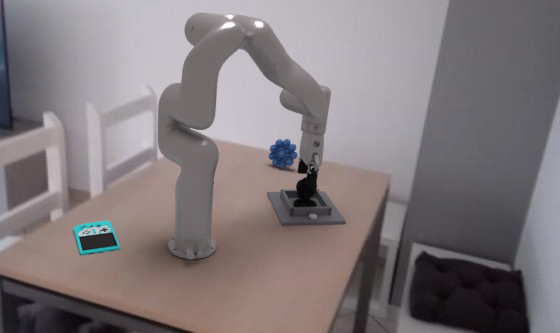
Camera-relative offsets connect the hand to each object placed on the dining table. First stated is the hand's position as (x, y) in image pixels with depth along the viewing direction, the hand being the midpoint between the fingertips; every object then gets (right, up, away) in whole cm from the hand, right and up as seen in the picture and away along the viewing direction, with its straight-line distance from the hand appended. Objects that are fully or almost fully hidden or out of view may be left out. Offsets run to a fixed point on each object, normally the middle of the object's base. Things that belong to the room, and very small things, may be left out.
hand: (306, 179), depth 168 cm
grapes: (-7, +3, +36) cm, 37 cm away
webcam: (0, -9, +4) cm, 10 cm away
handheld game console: (-57, -16, -24) cm, 64 cm away
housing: (0, -9, +4) cm, 10 cm away
